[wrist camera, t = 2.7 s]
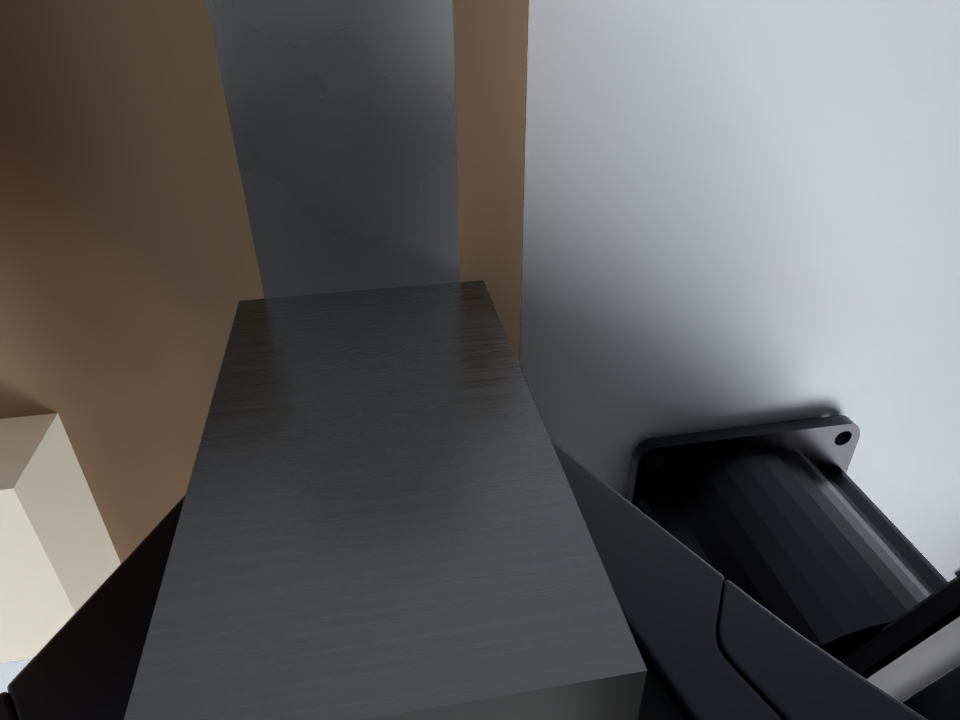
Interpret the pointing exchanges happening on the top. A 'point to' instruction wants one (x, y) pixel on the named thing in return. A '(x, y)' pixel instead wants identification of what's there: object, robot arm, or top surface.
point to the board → (178, 225)
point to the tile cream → (45, 535)
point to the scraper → (371, 423)
